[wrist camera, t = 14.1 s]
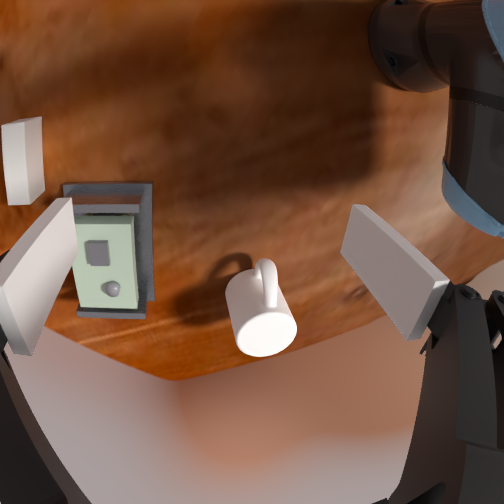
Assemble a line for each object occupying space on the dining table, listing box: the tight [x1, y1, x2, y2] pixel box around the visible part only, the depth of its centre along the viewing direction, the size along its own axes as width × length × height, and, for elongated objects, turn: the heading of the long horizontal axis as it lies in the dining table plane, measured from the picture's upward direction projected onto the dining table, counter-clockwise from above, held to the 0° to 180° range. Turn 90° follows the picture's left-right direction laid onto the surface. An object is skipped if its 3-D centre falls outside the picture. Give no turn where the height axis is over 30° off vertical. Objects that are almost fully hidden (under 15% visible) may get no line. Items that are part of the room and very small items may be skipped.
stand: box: [1, 116, 45, 205], centre depth 29 cm, size 10×4×5 cm, turn 172°
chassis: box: [63, 181, 155, 319], centre depth 38 cm, size 18×12×6 cm, turn 172°
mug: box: [225, 258, 297, 357], centre depth 44 cm, size 8×10×12 cm
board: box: [72, 216, 139, 309], centre depth 35 cm, size 12×8×3 cm, turn 172°
